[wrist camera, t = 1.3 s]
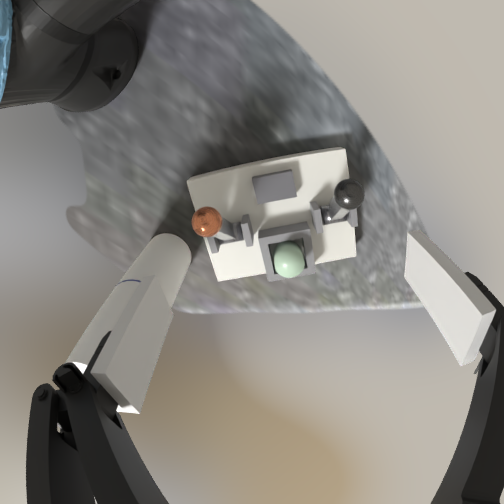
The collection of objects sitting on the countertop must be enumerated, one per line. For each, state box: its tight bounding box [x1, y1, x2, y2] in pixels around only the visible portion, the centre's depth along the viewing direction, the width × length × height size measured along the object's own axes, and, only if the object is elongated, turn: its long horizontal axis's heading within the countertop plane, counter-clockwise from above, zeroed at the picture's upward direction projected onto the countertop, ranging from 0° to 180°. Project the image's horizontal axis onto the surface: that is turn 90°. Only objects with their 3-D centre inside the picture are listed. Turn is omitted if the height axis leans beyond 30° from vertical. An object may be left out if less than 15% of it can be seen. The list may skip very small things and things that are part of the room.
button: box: [274, 241, 305, 278], centre depth 35 cm, size 4×4×3 cm
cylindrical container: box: [65, 233, 191, 412], centre depth 30 cm, size 7×7×25 cm
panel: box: [186, 147, 358, 282], centre depth 35 cm, size 15×20×6 cm
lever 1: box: [192, 206, 244, 245], centre depth 30 cm, size 3×3×13 cm
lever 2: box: [319, 179, 364, 225], centre depth 28 cm, size 3×3×13 cm
